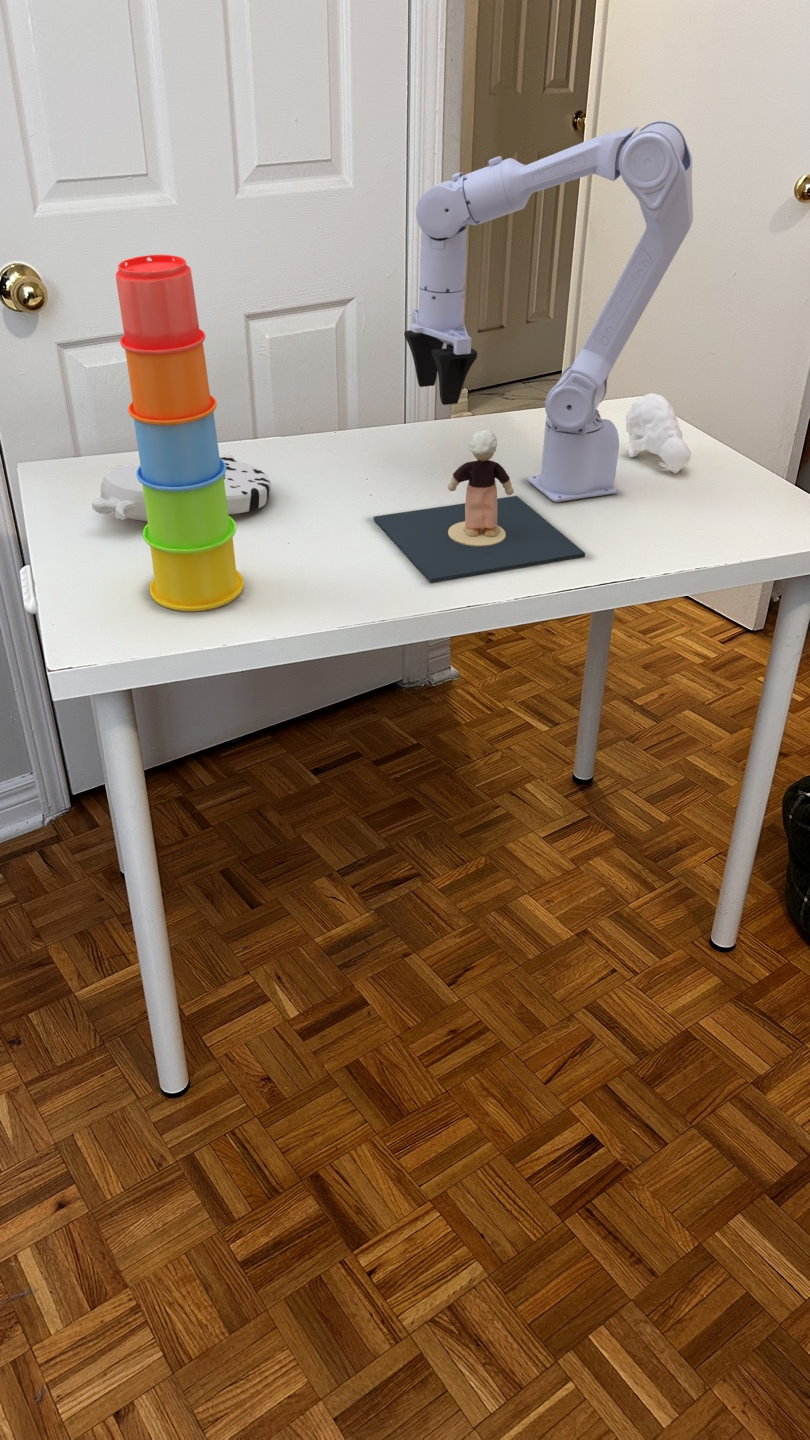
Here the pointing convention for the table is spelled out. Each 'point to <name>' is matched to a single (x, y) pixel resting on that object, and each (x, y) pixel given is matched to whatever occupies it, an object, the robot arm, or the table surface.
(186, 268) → the stacking cups
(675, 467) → the white lumpy figurine
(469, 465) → the grandmother figurine
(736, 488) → the table surface
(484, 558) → the display mat
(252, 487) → the toy
